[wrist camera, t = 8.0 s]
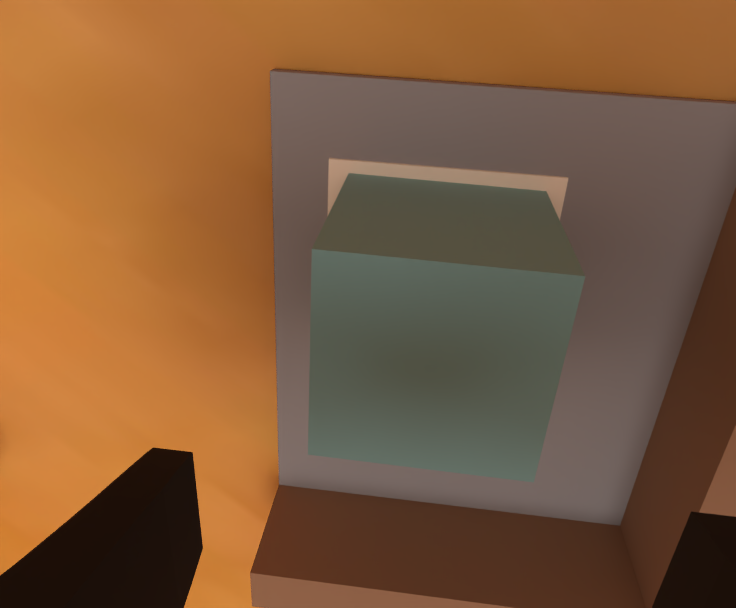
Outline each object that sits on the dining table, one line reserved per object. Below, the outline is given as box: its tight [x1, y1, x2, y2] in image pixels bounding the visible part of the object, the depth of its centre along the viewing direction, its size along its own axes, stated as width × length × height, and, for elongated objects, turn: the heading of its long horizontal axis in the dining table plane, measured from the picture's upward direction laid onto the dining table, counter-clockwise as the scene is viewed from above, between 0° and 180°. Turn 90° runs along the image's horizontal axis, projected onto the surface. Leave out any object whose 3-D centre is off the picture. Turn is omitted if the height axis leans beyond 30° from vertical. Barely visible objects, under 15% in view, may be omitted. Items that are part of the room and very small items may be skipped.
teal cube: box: [308, 173, 585, 482], centre depth 15 cm, size 5×5×5 cm
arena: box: [250, 69, 736, 608], centre depth 17 cm, size 13×15×4 cm
